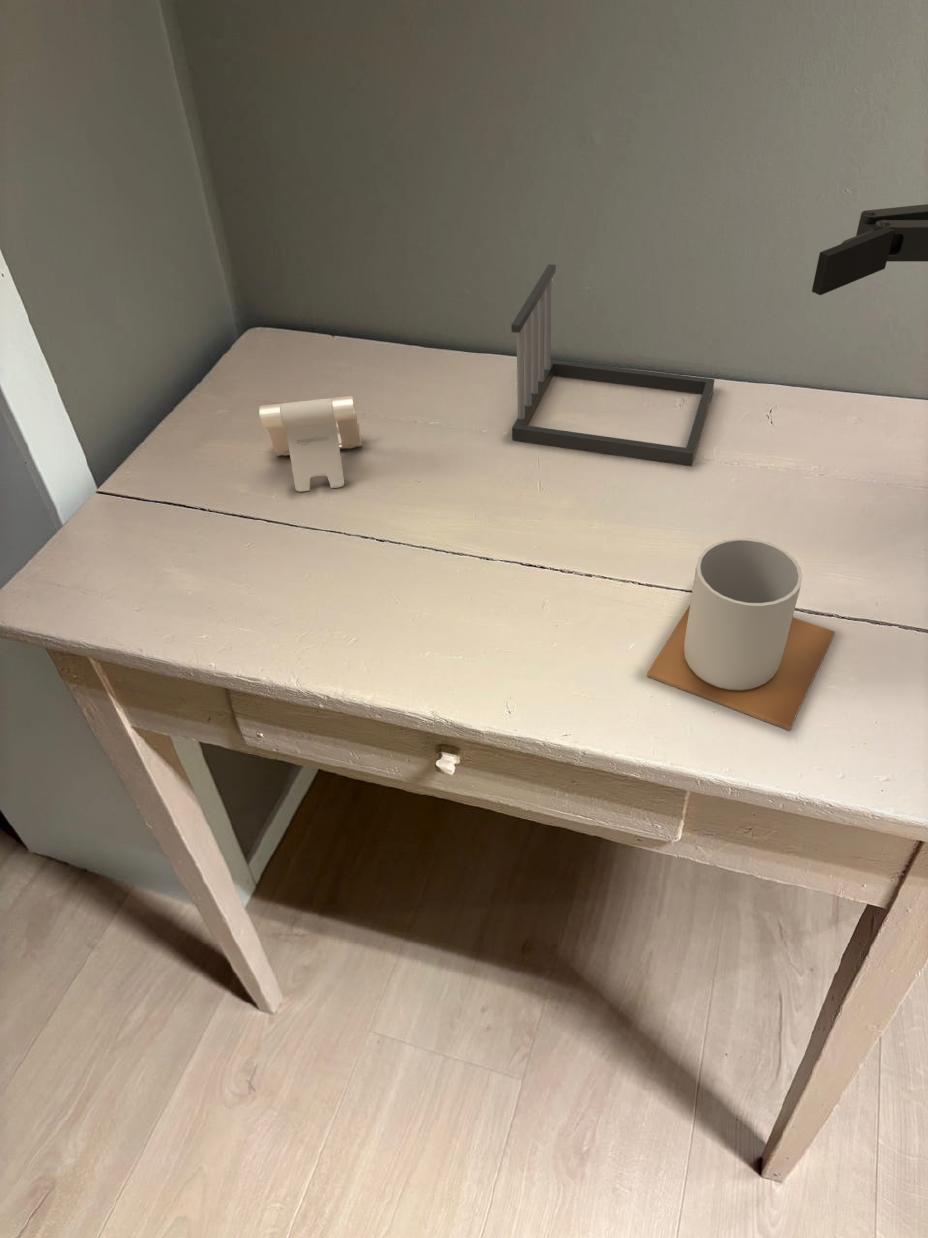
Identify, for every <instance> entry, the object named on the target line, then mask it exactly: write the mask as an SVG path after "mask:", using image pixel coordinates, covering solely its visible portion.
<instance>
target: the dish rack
mask: <svg viewBox="0 0 928 1238" xmlns="http://www.w3.org/2000/svg"><path fill="white" fill-rule="evenodd" d="M555 273H557V265H556V264H552V263H548V265H546V267H545V269H544V270H543V272H542V274H541V276H540V277H539V279H538V280H537V282H536V283H535V286H534V287H533V289H532V290H531V292H530V294H529V295H528V296H527V299H526V300H525V301H524V302H523V305H522V306H521V308H520V310H519V311H518V313H517V315H516V316H515V318H514V320H513V321H512V323H511V325H510V326H511V327H510V328H511V333H516V382H517V383H516V384H517V385H516V386H517V389H516V390H517V392H516V393H517V395H516V396H517V418H516V419H515V422H514V423H513V425H512V427H511V436H512V437H511V440H512V441H515V442H524V443H530V444H537V445H543V446H551V447H557V448H558V447H559V448H565V449H571V450H579V451H586V452H592V453H599V454H607V455H613V456H618V457H619V456H620V457H625V458H626V457H627V458H633V459H642V460H646V461H647V460H648V461H655V462H660V463H668V464H675V465H682V466H689V467H692V466H693V462H694V459H695V455H696V453H697V450H698V449H697V448H698V445H699V441H700V439H701V434H702V431H703V428H704V424H705V421H706V417H707V414H708V411H709V408H710V407H709V406H710V403H711V399H712V396H713V393H714V388H715V380H716V379H715V378H709V377H700V376H692V375H683V374H675V373H667V372H658V371H650V370H641V369H635V368H632V369H631V368H625V367H617V366H608V365H600V364H592V363H584V362H583V363H582V362H575V361H569V360H559V359H552V357H551V356H552V355H551V353H552V350H551V349H552V347H551V346H552V279H553V277H554V276H555ZM553 377H563V378H571V379H578V380H587V381H595V382H603V383H610V384H611V383H612V384H618V385H624V386H625V385H626V386H634V387H642V388H650V389H656V390H657V389H658V390H666V391H673V392H674V391H675V392H681V393H682V392H683V393H688V394H689V393H691V394H699V395H701V396H700V397H701V398H700V400H699V404H698V407H697V411H696V414H695V417H694V422H693V424H692V427H691V430H690V435H689V437H688V441H687V444H686V447H684V446H676V445H669V444H662V443H656V442H648V441H640V440H634V439H628V438H620V437H612V436H605V435H597V434H591V433H583V432H576V431H569V430H563V429H554V428H549V427H542V426H534V425H529V424H530V421H531V419H532V417H533V416H534V413H535V412H536V410H537V408H538V406H539V404H540V402H541V400H542V398H543V397H544V394H545V392H546V390H547V388H548V387H549V385H550V383H551V381H552V379H553Z"/></svg>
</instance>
